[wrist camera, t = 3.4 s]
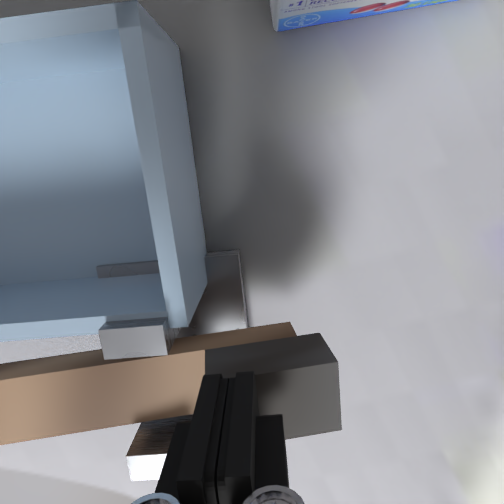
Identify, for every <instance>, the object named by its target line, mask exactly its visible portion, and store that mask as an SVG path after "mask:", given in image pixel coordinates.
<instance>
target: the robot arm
mask: <svg viewBox="0 0 504 504" xmlns="http://www.w3.org/2000/svg"><path fill="white" fill-rule="evenodd" d="M132 504H304V502H303V500H302V498H301V497H300V496H299V495H298V494H297V493H296V492H295V491H293V490H291V489H290V488H289V480H288V468H287V457H286V446H285V435H284V425H283V415H282V414H276V415H263V416H260V415H259V407H258V398H257V389H256V380H255V373H254V371H245V372H236V377H231V378H223V376H222V374H209V375H203V378H202V382H201V386H200V389H199V393H198V397H197V401H196V405H195V409H194V413H193V417H192V420H191V421H184V422H178V423H177V424H176V426H175V429H174V432H173V435H172V439H171V442H170V445H169V448H168V452H167V455H166V458H165V461H164V464H163V468H162V471H161V474H160V477H159V481H158V484H157V487H156V490H155V493H152V494H149V495H146V496H143V497H141V498H139V499H137V500H136V501H134V502H133V503H132Z"/></svg>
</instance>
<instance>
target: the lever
mask: <svg viewBox="0 0 504 504" xmlns="http://www.w3.org/2000/svg"><path fill="white" fill-rule="evenodd" d="M245 371H254V373H255V380H256V389H257V398H258V407H259V415H260V416H263V415H276V414H282V415H283V425H284V435H285V440H286V439H291V438H297V437H303V436H309V435H315V434H321V433H327V432H332V431H338V430H342V426H341V408H340V389H339V370H338V361H337V360H336V358H335V356H334V355H333V353H332V352H331V350H330V348H329V347H328V345H327V344H326V342H325V341H324V339H323V337H322V336H321V334H320V333H314V334H308V335H301V336H297V335H296V333H295V331H294V329H293V327H292V325H291V323H290V322H285V323H278V324H271V325H265V326H258V327H251V328H244V329H237V330H230V331H223V332H216V333H210V334H203V335H196V336H189V337H182V338H176V339H175V341H174V343H173V345H172V347H171V349H170V351H169V354H168V355H161V356H148V357H135V358H121V359H108V360H104V355H103V351H102V349H100V350H93V351H86V352H79V353H72V354H65V355H58V356H51V357H45V358H38V359H31V360H24V361H17V362H10V363H3V364H0V445H4V444H10V443H17V442H23V441H29V440H35V439H41V438H47V437H54V436H60V435H66V434H72V433H78V432H84V431H91V430H97V429H103V428H109V427H115V426H121V425H128V424H134V423H140V422H146V421H152V420H159V419H165V418H171V417H177V416H183V415H189V414H193V413H194V409H195V405H196V401H197V397H198V393H199V389H200V386H201V382H202V378H203V375H209V374H222V376H223V378H231V377H236V372H245Z"/></svg>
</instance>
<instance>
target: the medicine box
mask: <svg viewBox="0 0 504 504" xmlns="http://www.w3.org/2000/svg"><path fill="white" fill-rule="evenodd" d="M269 1H270V9H271V16H272V23H273V28H274V30H275V31H277V32H279V31H285V30H290V29H296V28H301V27H307V26H313V25H319V24H324V23H330V22H337V21H343V20H348V19H354V18H359V17H365V16H371V15H376V14H382V13H388V12H394V11H400V10H406V9H411V8H417V7H423V6H428V5H434V4H440V3H445V2H451V1H457V0H269Z"/></svg>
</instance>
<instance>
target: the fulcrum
mask: <svg viewBox="0 0 504 504" xmlns="http://www.w3.org/2000/svg"><path fill="white" fill-rule="evenodd" d="M204 260H205V267H206V274H207V282H208V283H207V285H206V288H205V290H204V292H203V294H202V297H201V299H200V301H199V303H198V306H197V308H196V310H195V312H194V315H193V317H192V319H191V321H190V324H189V326H188V327H181V328H169V323H168V317H159V318H146V319H134V320H122V321H109V322H105V323H104V324H103V325H102V326H101V327H100V329H99V330H98V333H99V337H100V342H101V346H102V351H103V355H104V360H108V359H121V358H135V357H148V356H161V355H168V354H169V351H170V349H171V347H172V345H173V343H174V341H175V339H176V338H182V337H189V336H196V335H203V334H210V333H216V332H223V331H230V330H237V329H244V328H248V321H247V312H246V304H245V295H244V286H243V278H242V269H241V260H240V252H239V250H229V251H218V252H207V253H206V255H205V257H204ZM96 270H97V275H98V279H99V278H110V277H121V276H133V275H144V274H155V273H160V270H159V264H158V260H151V261H140V262H128V263H117V264H106V265H98V266H97V267H96ZM192 417H193V414H189V415H183V416H177V417H171V418H165V419H159V420H152V421H146V422H141V424H140V427H139V429H138V431H137V433H136V435H135V438H134V440H133V442H132V444H131V446H130V448H129V451H128V453H127V455H126V459H127V464H128V468H129V473H130V478H131V481H140V480H159V477H160V474H161V471H162V468H163V464H164V461H165V458H166V455H167V452H168V448H169V445H170V442H171V439H172V435H173V432H174V429H175V426H176V424H177V423H178V422H184V421H191V420H192Z"/></svg>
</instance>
